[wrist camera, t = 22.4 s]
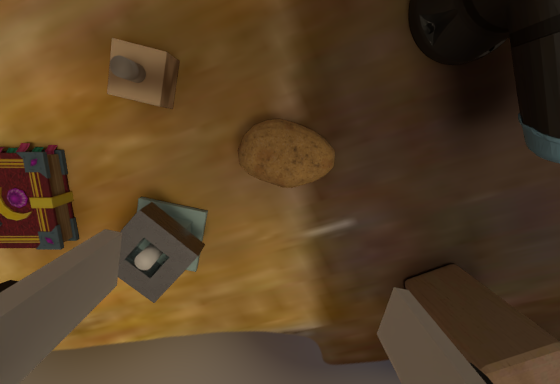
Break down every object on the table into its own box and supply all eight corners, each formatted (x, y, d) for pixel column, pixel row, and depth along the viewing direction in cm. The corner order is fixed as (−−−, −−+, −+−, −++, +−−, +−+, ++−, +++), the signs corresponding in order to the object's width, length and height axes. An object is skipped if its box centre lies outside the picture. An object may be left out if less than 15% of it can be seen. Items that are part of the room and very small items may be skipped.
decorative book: (13, 238, 46) (-18, 251, 41) (-9, 142, 42) (-46, 143, 38) (81, 238, 46) (58, 250, 42) (65, 142, 43) (38, 144, 38)
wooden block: (414, 322, 52) (499, 438, 33) (401, 278, 50) (484, 375, 30) (465, 305, 51) (582, 412, 32) (453, 260, 49) (572, 346, 30)
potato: (322, 186, 45) (333, 199, 38) (239, 175, 44) (232, 186, 37) (333, 127, 43) (347, 127, 35) (245, 114, 42) (239, 111, 35)
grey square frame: (152, 201, 40) (139, 209, 36) (205, 244, 42) (198, 256, 38) (112, 248, 41) (95, 260, 38) (164, 287, 43) (154, 303, 39)
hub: (141, 196, 45) (105, 215, 35) (207, 210, 46) (190, 233, 36) (134, 256, 47) (98, 289, 37) (197, 268, 48) (178, 304, 38)
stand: (131, 49, 40) (92, 26, 31) (179, 61, 40) (153, 42, 32) (126, 97, 41) (87, 89, 32) (172, 108, 42) (146, 103, 33)
